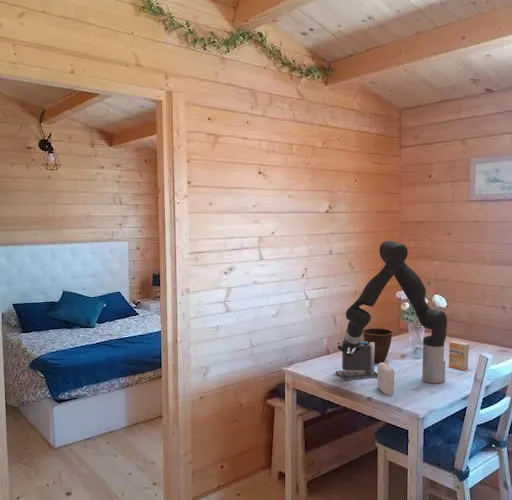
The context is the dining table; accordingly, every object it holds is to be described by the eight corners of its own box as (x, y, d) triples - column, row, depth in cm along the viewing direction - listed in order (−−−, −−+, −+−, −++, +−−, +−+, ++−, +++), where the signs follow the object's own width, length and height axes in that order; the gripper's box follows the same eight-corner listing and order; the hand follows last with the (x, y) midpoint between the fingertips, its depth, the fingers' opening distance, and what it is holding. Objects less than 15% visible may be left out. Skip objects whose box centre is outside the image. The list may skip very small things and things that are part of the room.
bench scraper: (373, 369, 250) (373, 340, 249) (374, 372, 246) (375, 342, 245) (342, 368, 251) (342, 340, 250) (343, 371, 247) (343, 342, 246)
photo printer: (395, 395, 221) (396, 367, 220) (386, 395, 220) (386, 367, 219) (384, 386, 231) (385, 360, 230) (376, 387, 230) (376, 360, 229)
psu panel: (368, 370, 254) (368, 367, 254) (380, 377, 244) (380, 374, 244) (335, 373, 249) (335, 370, 249) (345, 380, 239) (345, 377, 239)
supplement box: (448, 367, 260) (449, 341, 259) (452, 365, 263) (453, 340, 262) (464, 370, 254) (465, 344, 253) (468, 368, 257) (469, 343, 256)
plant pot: (366, 365, 262) (367, 335, 260) (359, 357, 277) (360, 328, 275) (395, 365, 262) (396, 334, 261) (387, 357, 277) (387, 328, 276)
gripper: (367, 329, 235) (361, 348, 248) (338, 329, 235) (334, 348, 248) (368, 343, 230) (363, 362, 243) (339, 343, 230) (335, 362, 244)
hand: (348, 355), depth 246 cm, fingers closed
